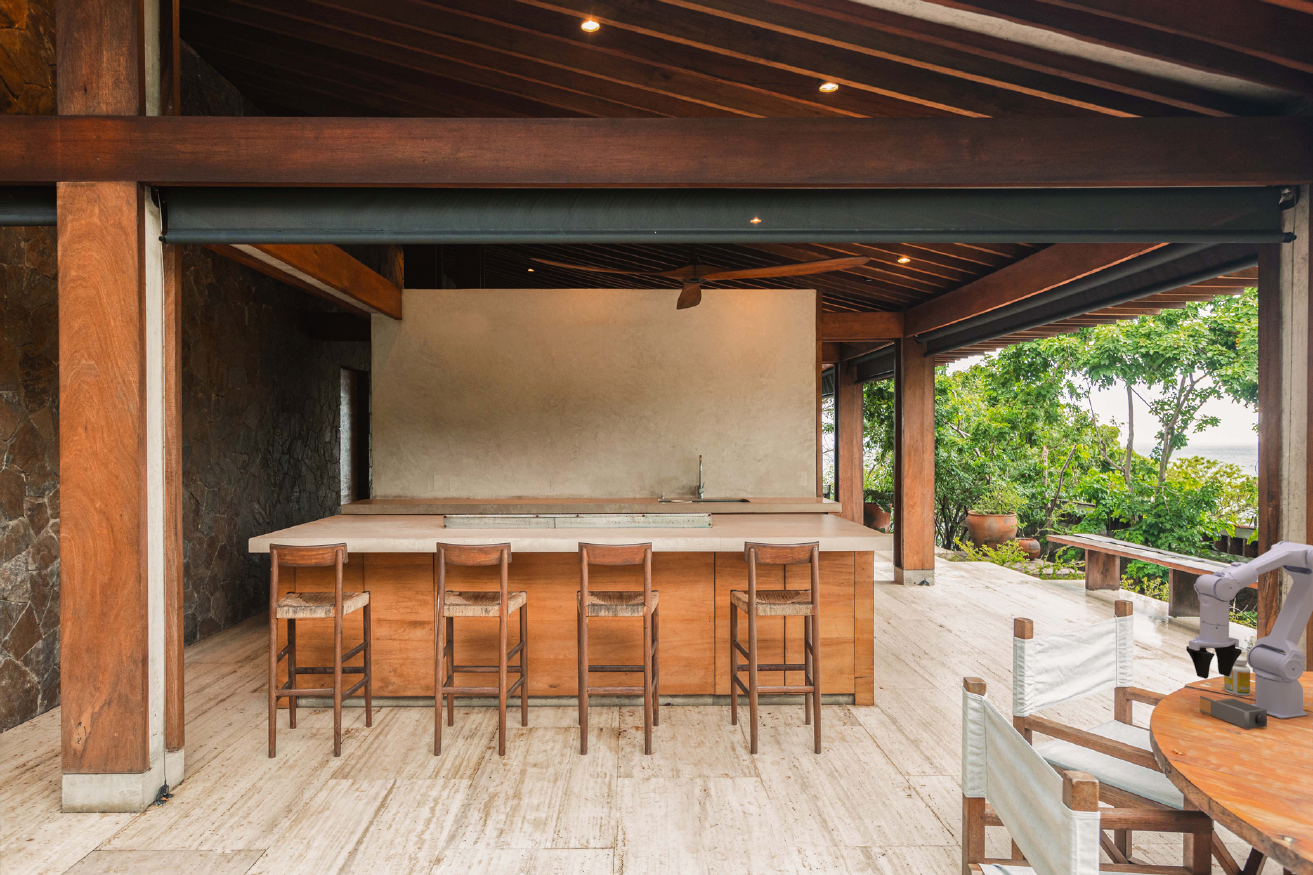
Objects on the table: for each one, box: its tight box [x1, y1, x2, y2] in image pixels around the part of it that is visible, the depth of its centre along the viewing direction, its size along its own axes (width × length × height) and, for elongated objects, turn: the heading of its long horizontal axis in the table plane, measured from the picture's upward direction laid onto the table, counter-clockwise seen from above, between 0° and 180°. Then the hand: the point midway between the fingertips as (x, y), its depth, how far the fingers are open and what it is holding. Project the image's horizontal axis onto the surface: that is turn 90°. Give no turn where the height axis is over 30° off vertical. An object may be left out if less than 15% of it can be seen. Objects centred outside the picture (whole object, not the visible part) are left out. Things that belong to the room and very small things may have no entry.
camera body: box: [1215, 697, 1268, 730], centre depth 163 cm, size 6×8×4 cm
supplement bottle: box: [1223, 656, 1251, 697], centre depth 182 cm, size 5×5×10 cm
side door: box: [1199, 695, 1250, 730], centre depth 164 cm, size 1×11×4 cm, turn 15°
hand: (1213, 676), depth 168 cm, fingers open, 7 cm apart
